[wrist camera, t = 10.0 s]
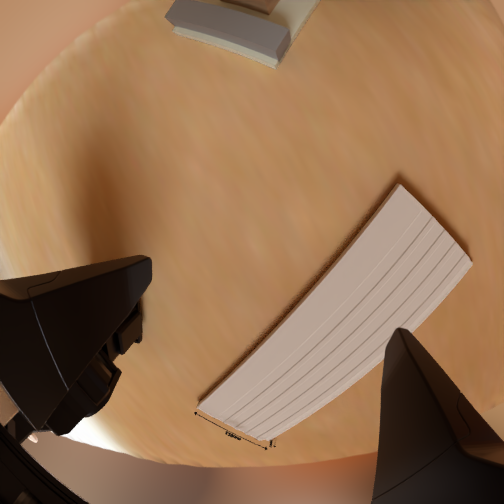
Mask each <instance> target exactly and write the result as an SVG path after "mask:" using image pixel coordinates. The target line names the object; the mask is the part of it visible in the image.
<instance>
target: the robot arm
mask: <svg viewBox="0 0 504 504" xmlns="http://www.w3.org/2000/svg"><path fill="white" fill-rule="evenodd" d="M151 280H152V260H151V258H150V257H147V256H144V255H137V256H132V257H126V258H121V259H116V260H111V261H106V262H101V263H96V264H91V265H86V266H81V267H76V268H71V269H66V270H62V271H56V272H51V273H46V274H40V275H34V276H28V277H21V278H14V279H7V280H0V504H90V503H89V502H87V501H86V500H84V499H83V498H82V497H80V496H79V495H77V494H76V493H75V492H73V491H72V490H71V489H69V488H68V487H67V486H66V485H64V484H63V483H62V482H61V481H59V480H58V479H57V478H56V477H55V476H53V475H52V474H51V473H50V472H49V471H48V470H46V469H45V468H44V467H43V466H42V465H41V464H40V463H39V462H38V461H36V459H35V458H33V457H32V456H31V455H30V454H29V453H28V452H27V451H26V450H25V449H24V448H23V447H22V446H21V445H20V444H21V443H22V442H23V441H24V440H25V439H27V438H28V437H29V436H30V435H31V434H32V433H34V432H46V431H52V432H53V433H54V434H55V435H57V436H60V435H64V434H68V433H70V432H71V430H72V429H73V428H74V427H75V426H76V425H77V424H78V423H79V422H80V421H81V420H82V419H83V418H84V417H90V416H92V415H94V414H96V413H97V412H98V411H100V410H101V409H102V408H103V407H104V406H105V405H106V403H107V402H108V401H109V399H110V397H111V395H112V393H113V390H114V388H115V386H116V384H117V382H118V380H119V377H120V375H121V373H122V372H121V370H120V369H119V368H117V367H116V366H115V364H114V363H113V361H114V360H115V359H116V357H117V356H118V355H119V354H121V355H123V354H125V352H126V351H127V350H128V349H129V348H130V346H131V345H132V344H133V343H134V342H135V343H140V342H141V341H142V318H141V312H140V298H141V296H142V295H143V293H144V292H145V290H146V289H147V287H148V286H149V284H150V283H151ZM371 504H504V441H503V440H502V439H501V438H500V437H499V436H498V435H497V434H496V433H495V431H494V430H493V429H492V428H491V427H490V426H489V424H488V423H487V422H486V421H485V420H484V419H483V418H482V417H481V415H480V414H479V413H478V412H477V411H476V410H475V409H474V407H473V406H472V405H471V404H470V402H469V401H468V400H467V399H466V397H465V396H464V395H463V394H462V393H460V390H459V389H458V387H457V386H456V385H455V384H454V382H453V381H452V380H451V379H450V378H449V376H448V375H447V374H446V373H445V372H444V370H443V369H442V368H441V367H440V366H439V364H438V363H437V362H436V361H435V360H434V359H433V357H432V356H431V355H430V354H429V353H428V352H427V350H426V349H425V348H424V347H423V346H422V345H421V344H420V342H419V341H418V340H417V339H416V338H415V337H414V336H413V334H412V333H411V332H410V331H409V330H408V329H405V328H401V327H398V328H396V329H395V331H394V332H393V334H392V336H391V338H390V340H389V342H388V344H387V346H386V349H385V356H384V367H383V376H382V385H381V411H380V431H379V445H378V457H377V467H376V475H375V483H374V489H373V496H372V501H371Z"/></svg>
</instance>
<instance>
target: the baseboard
mask: <svg viewBox="0 0 504 504" xmlns="http://www.w3.org/2000/svg"><path fill="white" fill-rule="evenodd" d="M472 265H473V263H472V262H471V261H470V258H469V257H468V256H467V254H466V253H465V252H464V251H463V250H462V249H461V247H460V246H459V245H458V244H457V242H456V241H455V240H454V239H453V238H452V237H451V236H450V235H449V233H448V232H447V231H446V230H445V229H444V228H443V227H442V226H441V225H440V224H439V223H438V222H437V220H436V219H435V218H434V217H433V216H432V215H431V214H430V213H429V212H428V211H427V210H426V209H425V208H424V207H423V206H422V205H421V204H420V203H419V202H418V201H417V200H416V199H415V198H414V197H413V196H412V195H411V194H410V193H409V192H408V191H407V190H406V189H405V188H404V187H403V186H402V185H400V184H398V183H397V184H396V185H395V187H394V188H393V189H392V191H391V192H390V193H389V195H388V196H387V197H386V199H385V200H384V201H383V203H382V204H381V205H380V206H379V208H378V209H377V210H376V212H375V213H374V214H373V215H372V217H371V218H370V219H369V220H368V222H367V223H366V224H365V225H364V227H363V228H362V229H361V230H360V232H359V233H358V234H357V235H356V237H355V238H354V239H353V240H352V242H351V243H350V244H349V245H348V246H347V248H346V249H345V250H344V251H343V252H342V254H341V255H340V256H339V257H338V258H337V259H336V261H335V262H334V263H333V264H332V265H331V267H330V268H329V269H328V270H327V271H326V272H325V273H324V275H323V276H322V277H321V278H320V279H319V280H318V281H317V283H316V284H315V285H314V286H313V287H312V288H311V289H310V291H309V292H308V293H307V294H306V295H305V296H304V297H303V298H302V299H301V301H300V302H299V303H298V304H297V305H296V306H295V307H294V308H293V309H292V310H291V311H290V313H289V314H288V315H287V316H286V317H285V318H284V319H283V320H282V321H281V322H280V323H279V324H278V325H277V326H276V327H275V329H274V330H273V331H272V332H271V333H270V334H269V335H268V336H267V337H266V338H265V339H264V340H263V341H262V342H261V343H260V344H259V345H258V346H257V347H256V348H255V349H254V350H253V351H252V352H251V353H250V354H249V355H248V356H247V357H246V358H245V359H244V360H243V361H242V362H241V363H240V364H239V365H238V366H237V367H236V368H235V369H234V370H233V371H232V372H231V373H230V374H229V375H228V376H227V377H226V378H225V379H224V380H223V381H222V382H221V383H220V384H219V385H217V386H216V387H215V388H214V389H213V390H212V391H211V392H210V393H209V394H208V395H207V396H206V397H205V398H204V399H202V400H201V401H200V402H199V403H198V405H197V407H196V408H198V409H199V410H201V411H203V412H205V413H206V414H208V415H210V416H212V417H214V418H217V419H218V420H220V421H222V422H223V423H225V424H228V425H230V426H232V427H234V429H236V430H240V431H242V432H244V433H245V434H247V435H250V436H252V437H254V438H256V439H257V440H259V441H261V440H268V441H269V440H271V439H273V438H275V437H276V436H278V435H280V434H281V433H283V432H285V431H286V430H288V429H290V428H291V427H293V426H294V425H296V424H298V423H299V422H301V421H302V420H304V419H305V418H307V417H308V416H310V415H311V414H313V413H314V412H316V411H317V410H319V409H320V408H322V407H323V406H325V405H326V404H327V403H329V402H330V401H332V400H333V399H334V398H336V397H337V396H338V395H340V394H341V393H342V392H344V391H345V390H346V389H348V388H349V387H350V386H352V385H353V384H354V383H355V382H357V381H358V380H359V379H360V378H362V377H363V376H364V375H365V374H367V373H368V372H369V371H370V370H371V369H373V368H374V367H375V366H376V365H377V364H378V363H380V362H381V361H382V360H383V359H384V356H385V349H386V346H387V344H388V342H389V340H390V338H391V336H392V334H393V332H394V331H395V329H396V328H398V327H401V328H405V329H408V330H409V331H410V332H411V333H412V332H413V331H414V330H415V329H416V328H417V327H418V326H419V325H420V324H421V323H422V322H423V321H424V320H425V319H426V318H427V317H428V316H429V315H430V314H431V313H432V312H433V311H434V310H435V309H436V307H437V306H438V305H439V304H440V303H441V302H442V301H443V300H444V299H445V297H446V296H447V295H448V294H449V293H450V292H451V291H452V289H453V288H454V287H455V286H456V285H457V283H458V282H459V281H460V280H461V279H462V277H463V276H464V275H465V274H466V272H467V271H468V270H469V269H470V267H471V266H472ZM194 413H195V415H196V414H197V412H194ZM197 415H198V414H197ZM199 416H200V415H199ZM201 417H202V416H201ZM203 418H204V417H203ZM204 419H205V418H204ZM206 420H207V419H206ZM208 421H209V420H208ZM210 422H211V421H210ZM212 423H213V422H212ZM214 424H215V423H214ZM215 425H217V424H215ZM217 426H218V425H217ZM219 427H220V426H219ZM221 428H222V427H221ZM223 429H224V428H223ZM225 430H226V429H225ZM227 431H228V430H227ZM227 431H226V433H225V434H226V435H227V433H228V432H227ZM229 432H230V431H229ZM231 433H232V432H231ZM231 433H229V435H228V436H230V437H234V436H235V435H236V434H235V435H233V434H234V433H233V434H231ZM230 434H231V435H230ZM237 436H238V435H237ZM237 436H235V437H234V438H237V439H238V440H241V438H242V437H241V438H238V437H237ZM239 437H240V436H239ZM243 439H244V438H243ZM245 440H246V439H245ZM247 441H249V440H247ZM250 442H251V441H250ZM272 442H273V441H272V440H271V441H270V446H269V447H271V445H272ZM252 443H253V442H252ZM254 444H255V443H254ZM256 445H257V444H256ZM258 446H260V445H258ZM261 447H262V446H261ZM274 447H276V446H274ZM263 448H264V447H263ZM266 449H267V448H266V447H265V450H266Z"/></svg>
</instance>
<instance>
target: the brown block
mask: <svg viewBox="0 0 504 504" xmlns="http://www.w3.org/2000/svg"><path fill="white" fill-rule="evenodd" d="M220 1H223V2H226V3H230V4H234V5H238V6H241V7H244V8H248V9H251V10H254V11H257V12H260V13H263V14H266V15H270V14H271V12H272V11H273V9H274V8H275V6H276V5H277V4H278V2H279V1H280V0H220Z"/></svg>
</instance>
